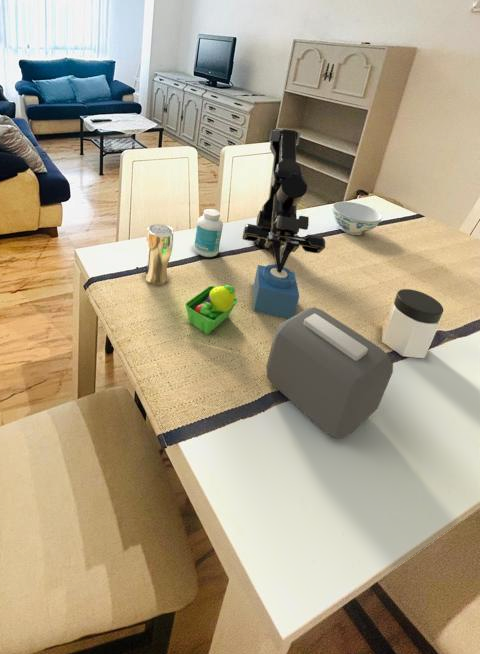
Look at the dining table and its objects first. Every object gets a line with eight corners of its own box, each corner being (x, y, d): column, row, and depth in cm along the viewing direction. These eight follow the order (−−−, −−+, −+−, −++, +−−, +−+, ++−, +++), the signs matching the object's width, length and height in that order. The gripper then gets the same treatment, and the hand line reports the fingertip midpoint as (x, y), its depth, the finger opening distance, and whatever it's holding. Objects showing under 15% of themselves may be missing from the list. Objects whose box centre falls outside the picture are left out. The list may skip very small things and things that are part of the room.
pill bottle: (218, 260, 114) (225, 219, 109) (193, 256, 116) (199, 216, 111) (217, 247, 121) (224, 208, 116) (193, 243, 122) (199, 205, 117)
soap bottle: (253, 286, 103) (259, 258, 100) (288, 294, 101) (296, 265, 98) (253, 310, 94) (260, 280, 91) (293, 319, 92) (301, 289, 89)
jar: (434, 352, 84) (454, 309, 80) (413, 364, 81) (432, 319, 77) (392, 325, 92) (409, 284, 87) (371, 335, 88) (387, 292, 84)
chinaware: (385, 242, 129) (392, 222, 126) (341, 240, 129) (347, 219, 126) (360, 221, 143) (365, 202, 140) (319, 219, 143) (325, 200, 140)
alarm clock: (372, 420, 69) (400, 354, 63) (337, 453, 63) (364, 383, 57) (292, 356, 82) (309, 296, 76) (257, 379, 76) (272, 316, 70)
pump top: (268, 273, 97) (270, 266, 97) (285, 276, 96) (286, 269, 96) (269, 282, 94) (270, 275, 93) (286, 286, 93) (288, 279, 92)
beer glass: (172, 275, 106) (177, 227, 101) (163, 289, 100) (169, 239, 95) (148, 268, 109) (152, 221, 103) (139, 281, 103) (143, 232, 97)
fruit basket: (208, 300, 97) (215, 262, 93) (240, 319, 91) (248, 280, 87) (181, 322, 89) (186, 282, 85) (214, 344, 84) (221, 302, 79)
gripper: (251, 194, 95) (243, 255, 89) (333, 207, 91) (331, 273, 84) (245, 210, 105) (238, 266, 99) (319, 223, 100) (317, 282, 94)
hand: (279, 271), depth 94 cm, fingers closed, pressing on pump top
